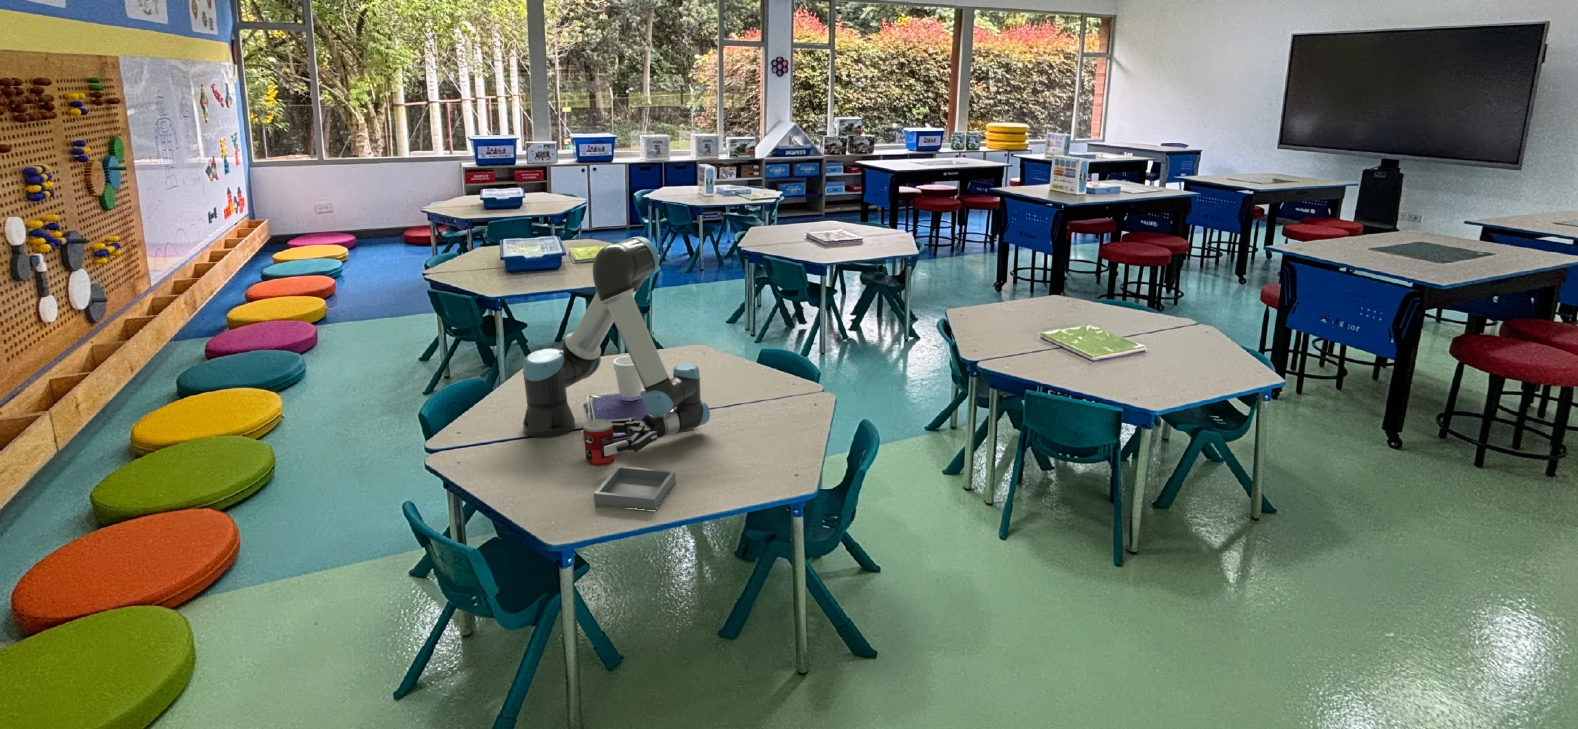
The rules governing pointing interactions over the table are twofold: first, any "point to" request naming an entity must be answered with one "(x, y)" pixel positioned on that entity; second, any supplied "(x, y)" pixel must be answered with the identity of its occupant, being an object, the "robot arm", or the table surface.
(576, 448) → the table surface
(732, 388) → the table surface
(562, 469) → the table surface
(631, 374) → the foam cup
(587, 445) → the canned food
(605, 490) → the tray
